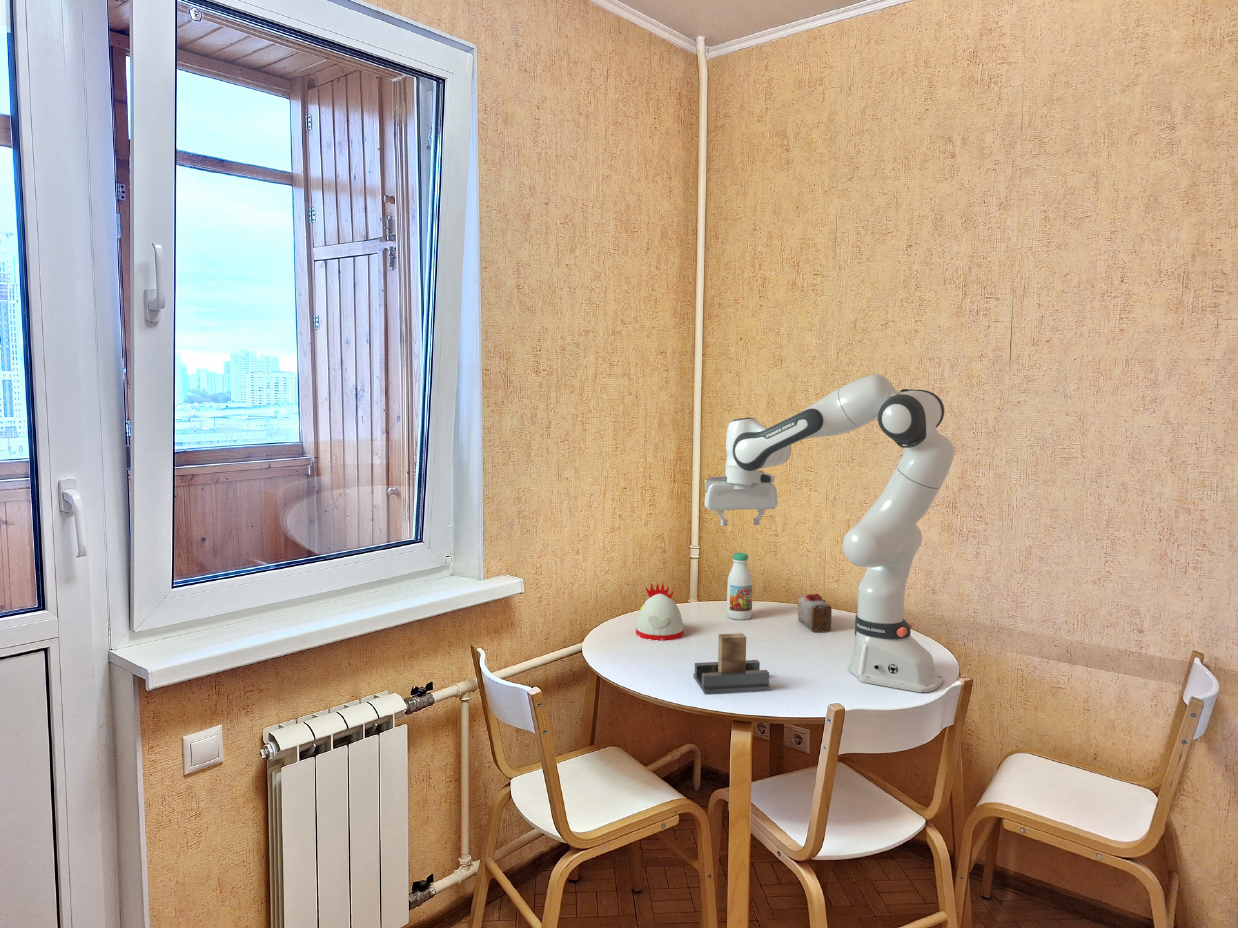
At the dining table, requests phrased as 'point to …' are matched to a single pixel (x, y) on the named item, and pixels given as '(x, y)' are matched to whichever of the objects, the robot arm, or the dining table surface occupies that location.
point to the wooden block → (732, 652)
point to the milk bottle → (739, 589)
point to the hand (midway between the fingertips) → (740, 525)
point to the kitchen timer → (659, 617)
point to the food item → (814, 612)
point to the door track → (731, 678)
